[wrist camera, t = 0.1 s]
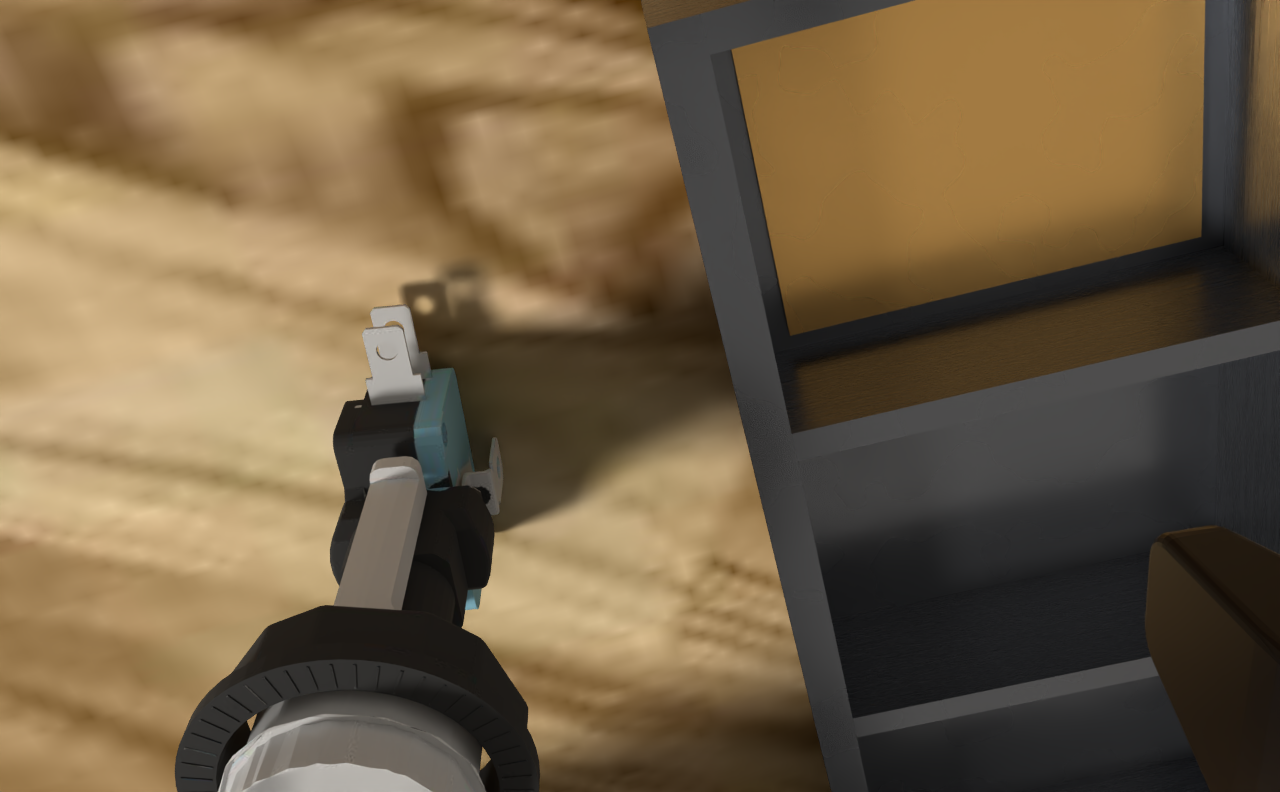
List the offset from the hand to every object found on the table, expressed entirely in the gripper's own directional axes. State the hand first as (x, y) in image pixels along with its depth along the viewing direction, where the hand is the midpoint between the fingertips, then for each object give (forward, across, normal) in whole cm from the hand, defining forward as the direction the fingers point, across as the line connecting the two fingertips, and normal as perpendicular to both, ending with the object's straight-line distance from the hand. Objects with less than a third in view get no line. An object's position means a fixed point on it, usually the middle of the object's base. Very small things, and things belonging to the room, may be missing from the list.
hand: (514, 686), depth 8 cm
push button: (+15, +4, +6) cm, 17 cm away
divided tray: (+14, -8, +9) cm, 19 cm away
